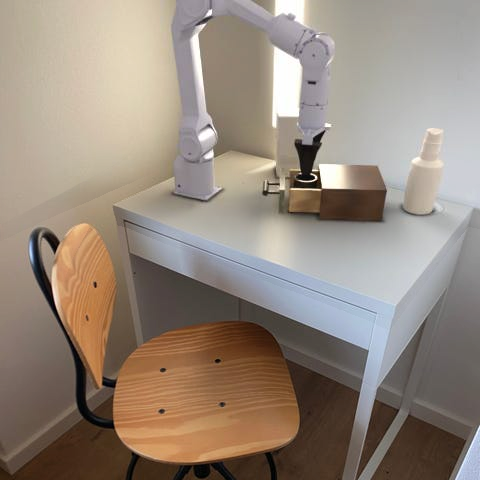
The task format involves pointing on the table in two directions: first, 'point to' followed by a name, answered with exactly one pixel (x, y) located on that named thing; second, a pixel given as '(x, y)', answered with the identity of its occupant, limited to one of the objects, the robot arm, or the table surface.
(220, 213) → the table surface
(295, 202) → the drawer
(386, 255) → the table surface
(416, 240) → the table surface
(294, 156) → the cosmetic box
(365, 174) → the cabinet
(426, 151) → the spray bottle
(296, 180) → the dark grey cup
